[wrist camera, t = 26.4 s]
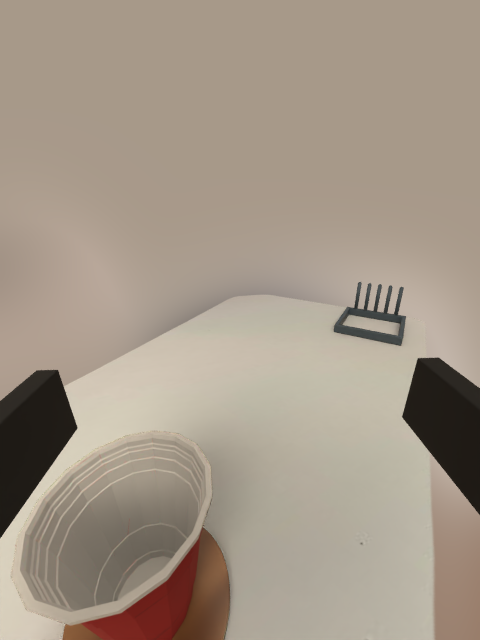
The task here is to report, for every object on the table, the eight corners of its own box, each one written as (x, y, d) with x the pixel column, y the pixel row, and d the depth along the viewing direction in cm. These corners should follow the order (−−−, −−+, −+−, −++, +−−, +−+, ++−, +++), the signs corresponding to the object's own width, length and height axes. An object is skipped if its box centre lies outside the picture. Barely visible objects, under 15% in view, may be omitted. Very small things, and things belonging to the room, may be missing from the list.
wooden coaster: (256, 564, 23) (256, 560, 23) (151, 822, 14) (149, 820, 13) (153, 498, 29) (152, 494, 28) (26, 648, 19) (23, 644, 19)
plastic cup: (146, 503, 27) (124, 409, 23) (244, 555, 23) (242, 453, 19) (33, 650, 18) (-41, 545, 14) (159, 780, 14) (114, 691, 10)
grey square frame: (400, 345, 58) (410, 305, 54) (333, 331, 65) (338, 294, 61) (404, 322, 69) (412, 287, 65) (346, 312, 76) (351, 280, 72)
